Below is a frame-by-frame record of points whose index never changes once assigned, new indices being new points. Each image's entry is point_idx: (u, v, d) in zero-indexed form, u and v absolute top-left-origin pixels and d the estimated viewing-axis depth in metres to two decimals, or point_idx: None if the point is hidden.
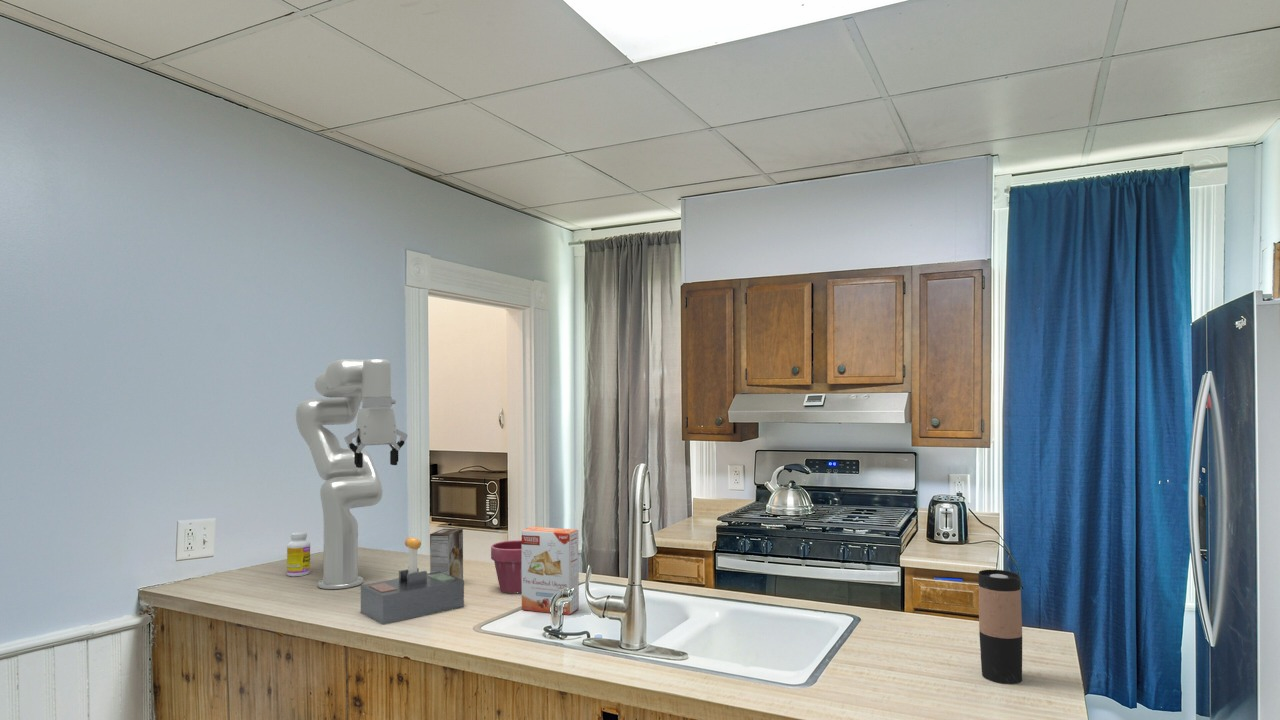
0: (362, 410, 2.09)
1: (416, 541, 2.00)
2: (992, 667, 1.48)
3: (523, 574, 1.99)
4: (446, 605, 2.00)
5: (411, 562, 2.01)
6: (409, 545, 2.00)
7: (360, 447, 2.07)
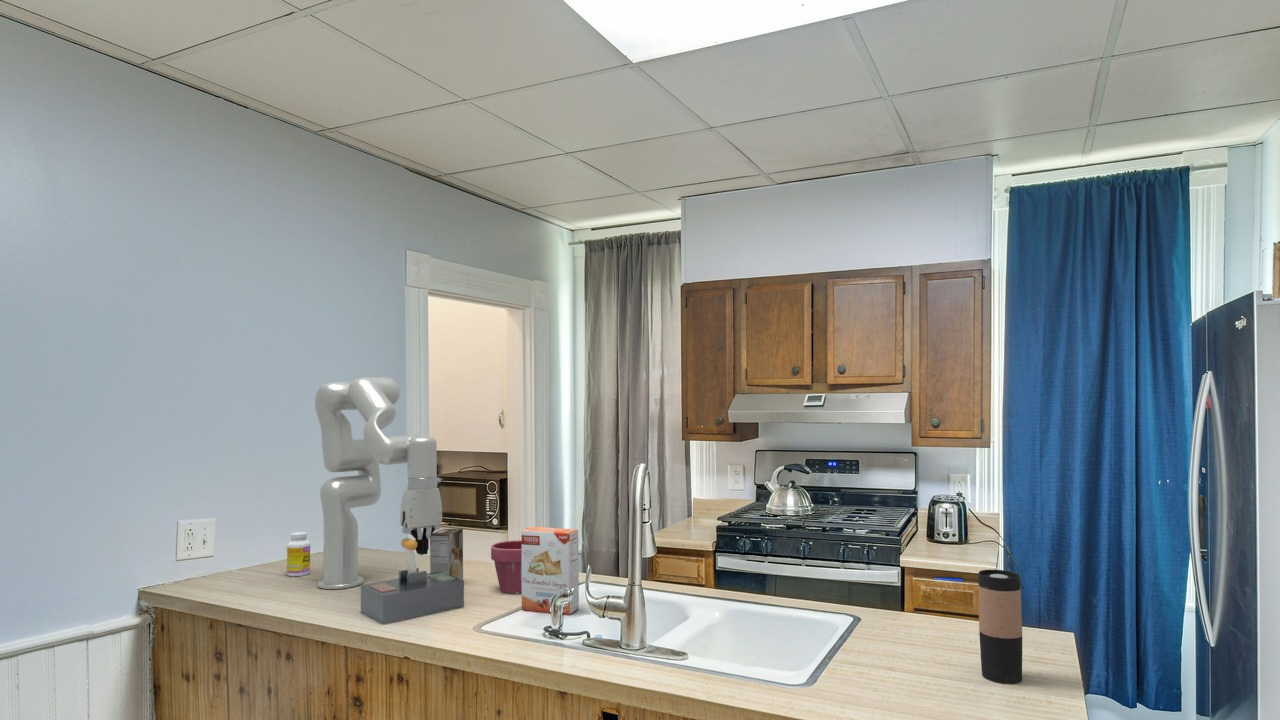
0: (408, 492, 2.00)
1: (412, 542, 1.99)
2: (992, 667, 1.48)
3: (523, 574, 1.99)
4: (446, 605, 2.00)
5: (409, 563, 2.00)
6: (405, 546, 2.00)
7: (419, 533, 2.01)
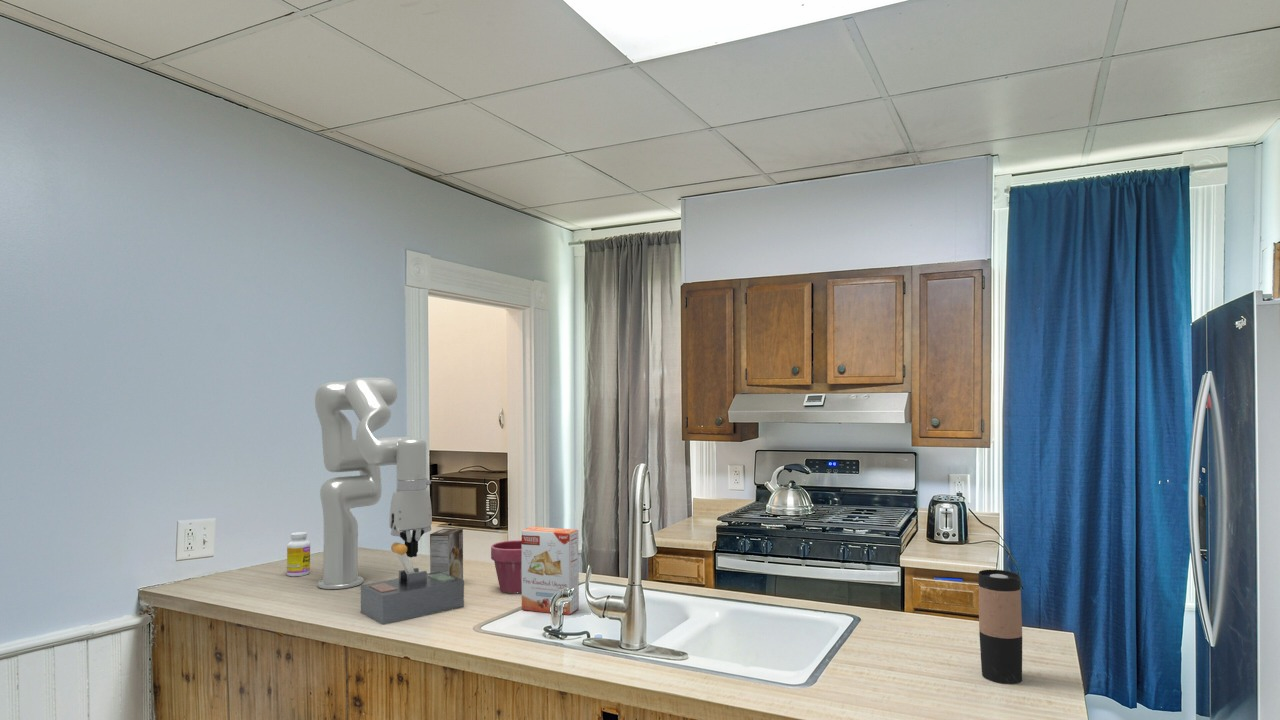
0: (397, 494, 1.98)
1: (401, 547, 1.97)
2: (992, 667, 1.48)
3: (523, 574, 1.99)
4: (446, 605, 2.00)
5: (404, 566, 2.00)
6: (396, 552, 1.98)
7: (408, 536, 2.00)
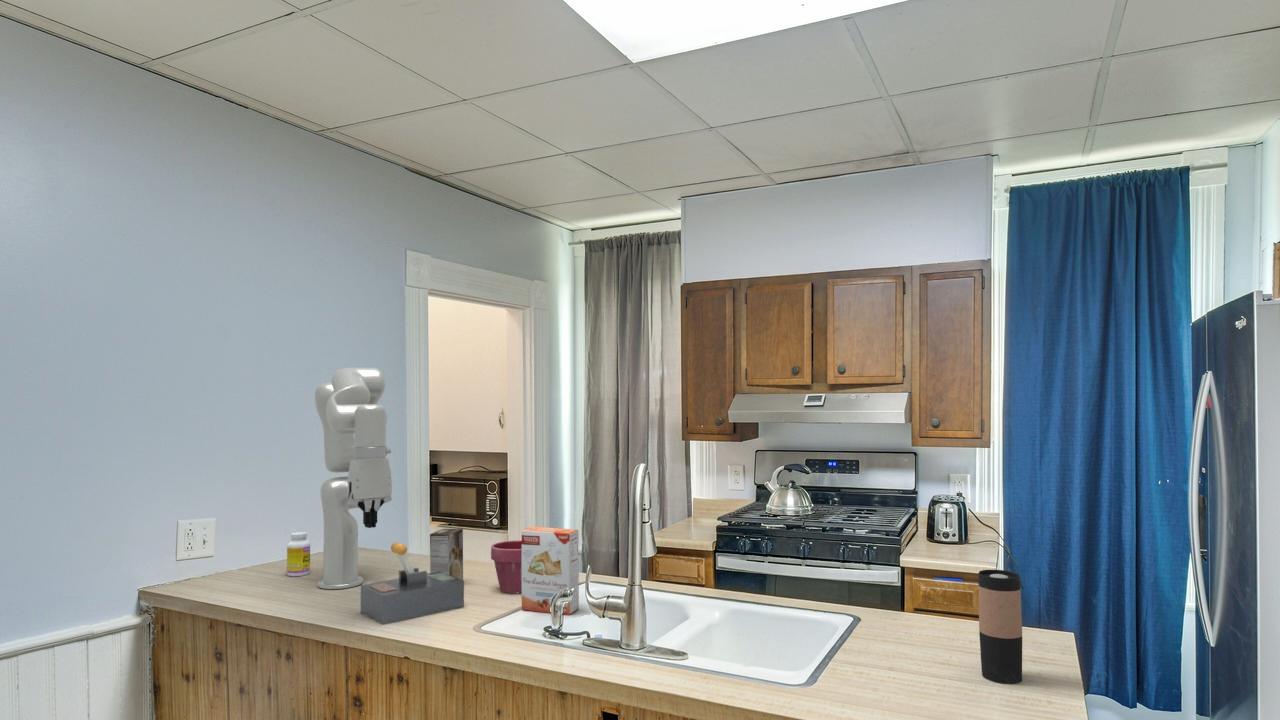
0: (354, 462, 1.91)
1: (401, 547, 1.97)
2: (992, 667, 1.48)
3: (523, 574, 1.99)
4: (446, 605, 2.00)
5: (404, 566, 2.00)
6: (396, 552, 1.98)
7: (366, 505, 1.92)
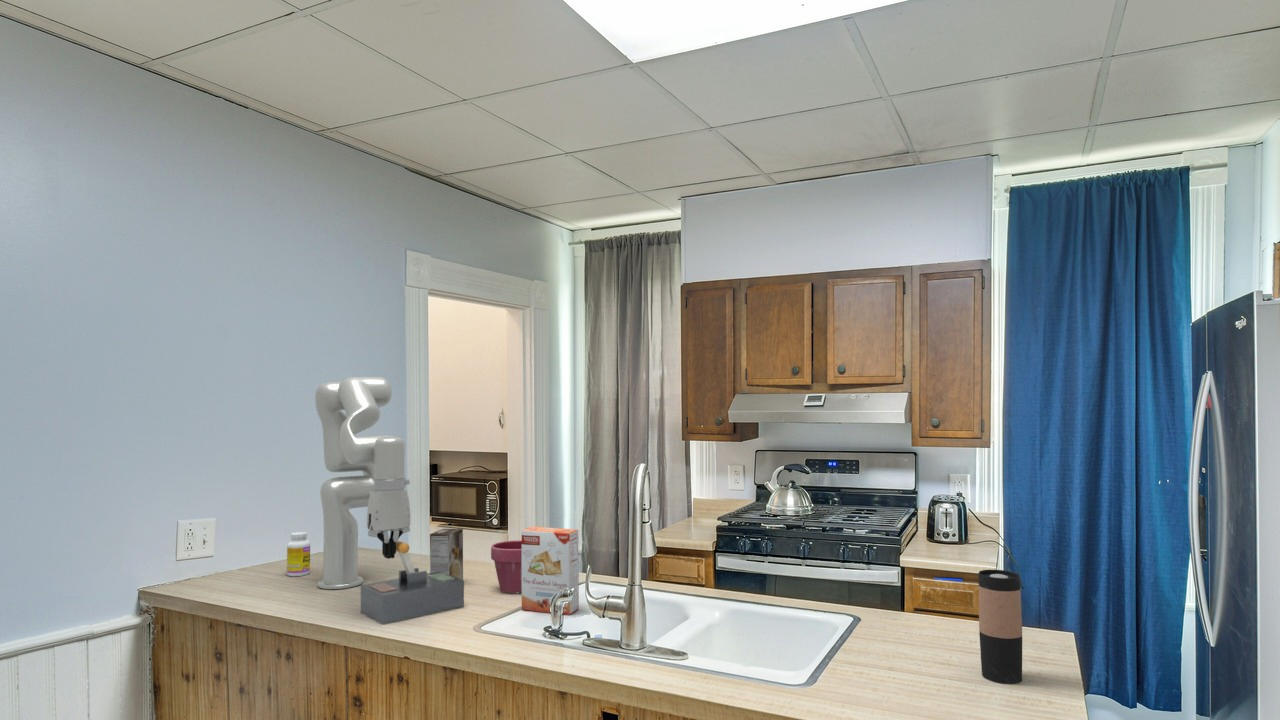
0: (374, 494, 1.95)
1: (403, 546, 1.98)
2: (992, 667, 1.48)
3: (523, 574, 1.99)
4: (446, 605, 2.00)
5: (405, 565, 2.00)
6: (398, 551, 1.98)
7: (385, 537, 1.96)
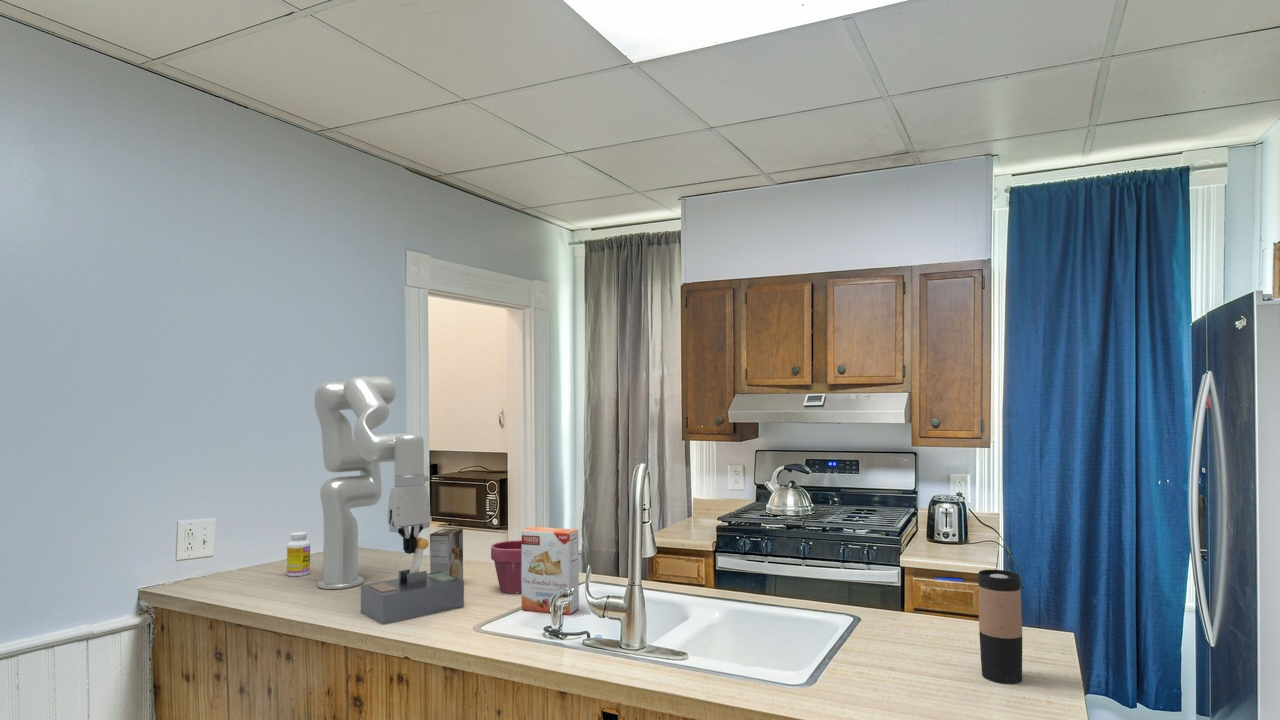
0: (395, 490, 1.98)
1: (424, 541, 2.02)
2: (992, 667, 1.48)
3: (523, 574, 1.99)
4: (446, 605, 2.00)
5: (414, 561, 2.01)
6: None
7: (406, 532, 1.99)
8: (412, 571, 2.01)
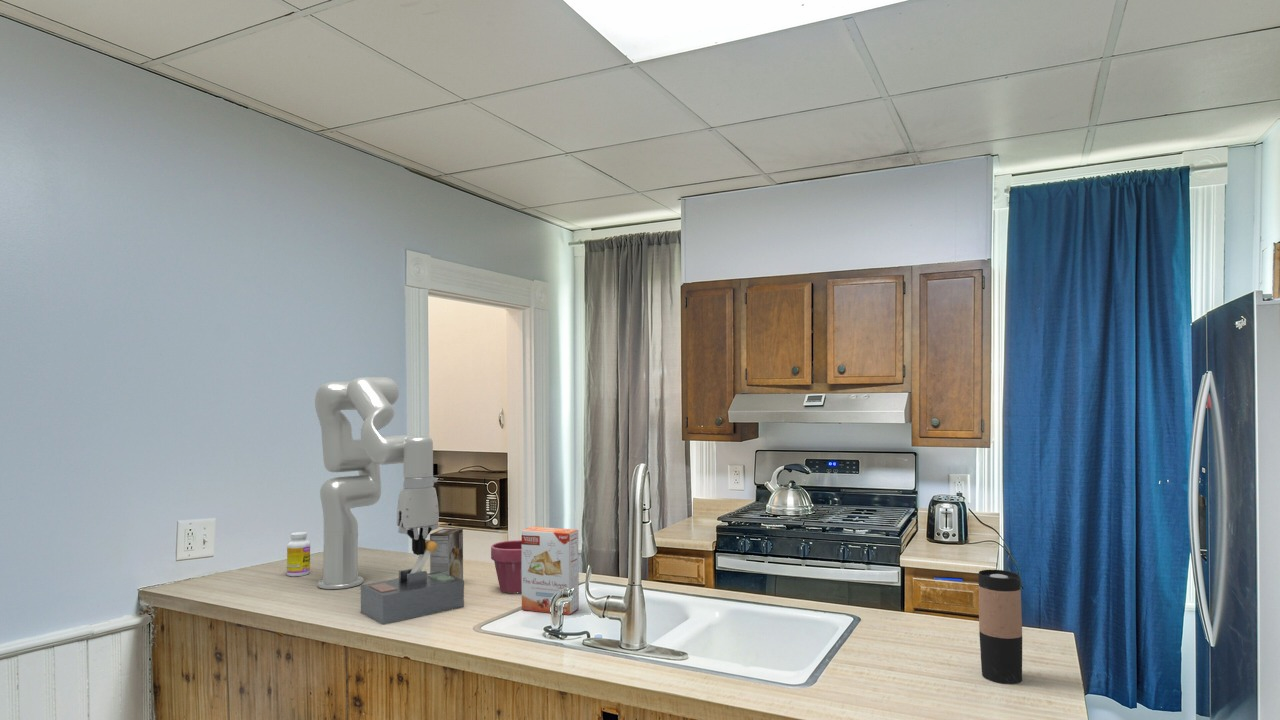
0: (404, 492, 1.99)
1: (433, 544, 2.03)
2: (992, 667, 1.48)
3: (523, 574, 1.99)
4: (446, 605, 2.00)
5: (419, 562, 2.02)
6: (425, 545, 2.03)
7: (415, 533, 2.01)
8: (414, 571, 2.01)
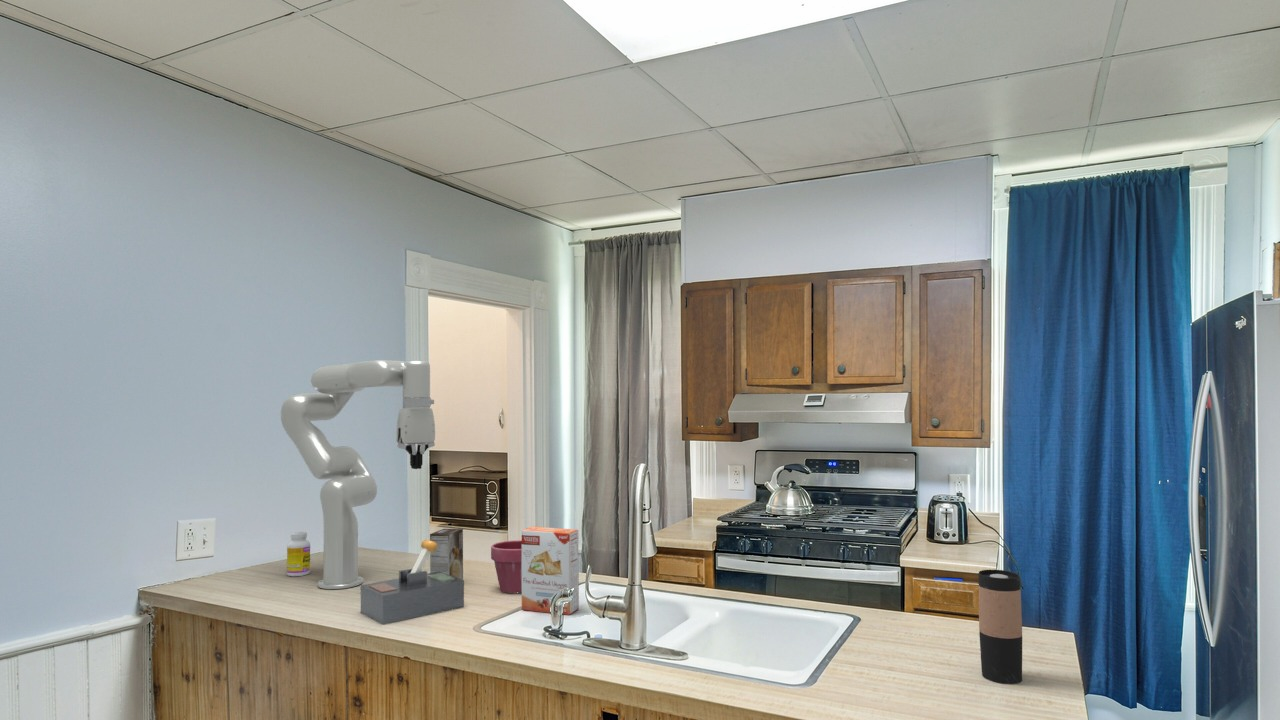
0: (403, 410, 2.16)
1: (433, 544, 2.03)
2: (992, 667, 1.48)
3: (523, 574, 1.99)
4: (446, 605, 2.00)
5: (419, 562, 2.02)
6: (426, 545, 2.03)
7: (413, 449, 2.17)
8: (414, 571, 2.01)
